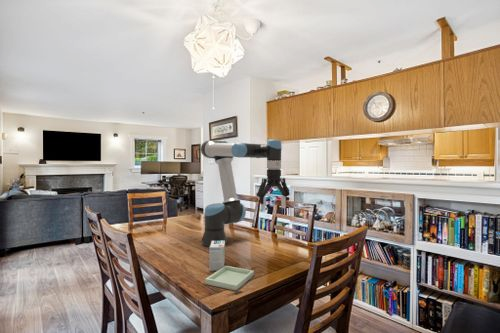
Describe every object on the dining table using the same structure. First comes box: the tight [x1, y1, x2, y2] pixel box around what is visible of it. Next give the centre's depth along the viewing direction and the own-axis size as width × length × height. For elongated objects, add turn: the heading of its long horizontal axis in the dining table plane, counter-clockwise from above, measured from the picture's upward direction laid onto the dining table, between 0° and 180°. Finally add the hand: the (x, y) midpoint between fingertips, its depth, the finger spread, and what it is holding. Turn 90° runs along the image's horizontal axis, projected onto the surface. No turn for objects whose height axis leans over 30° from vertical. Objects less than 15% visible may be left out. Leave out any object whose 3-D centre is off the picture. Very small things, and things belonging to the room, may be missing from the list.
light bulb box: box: [208, 240, 226, 272], centre depth 128 cm, size 11×7×11 cm, turn 3°
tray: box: [204, 265, 255, 292], centre depth 114 cm, size 14×16×2 cm
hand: (273, 209), depth 146 cm, fingers open, 13 cm apart
